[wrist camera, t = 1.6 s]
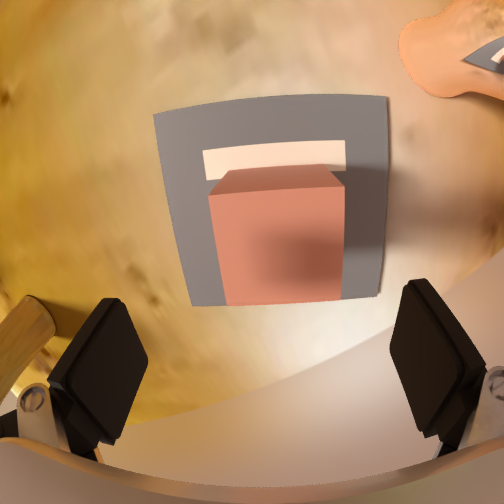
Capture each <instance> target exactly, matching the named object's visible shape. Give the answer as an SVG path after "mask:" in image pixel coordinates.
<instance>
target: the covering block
mask: <svg viewBox="0 0 504 504" xmlns="http://www.w3.org/2000/svg"><path fill="white" fill-rule="evenodd" d="M208 199H209V206H210V212H211V218H212V224H213V230H214V236H215V242H216V248H217V254H218V260H219V265H220V271H221V276H222V282H223V287H224V293H225V298H226V303H227V306H244V305H269V304H289V303H306V302H321V301H335V300H341V287H342V271H343V252H344V219H345V186H344V185H343V184H342V183H341V182H340V181H339V180H338V179H337V178H336V177H335V176H334V175H333V174H332V173H331V172H330V171H329V170H328V169H327V167H326V166H325V165H324V164H306V165H288V166H273V167H260V168H248V169H237V170H228V171H227V173H226V174H225V175H224V176H223V178H222V179H221V180H220V181H219V182H218V184H217V185H216V186H215V187H214V189H213V190H212V191H211V192H210V194H209V195H208Z"/></svg>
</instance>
